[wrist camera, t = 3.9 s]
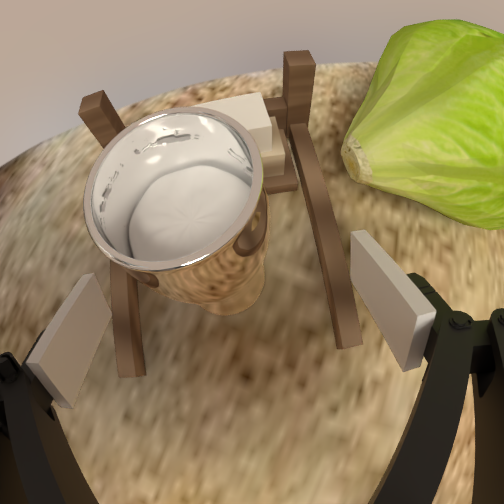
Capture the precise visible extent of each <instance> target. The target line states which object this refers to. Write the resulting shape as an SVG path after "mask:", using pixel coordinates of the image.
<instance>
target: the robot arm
mask: <svg viewBox="0 0 504 504" xmlns="http://www.w3.org/2000/svg"><path fill="white" fill-rule="evenodd" d="M350 280H351V282H352V283H353V285H354V287H355V288H356V290H357V292H358V293H359V295H360V297H361V298H362V300H363V302H364V303H365V305H366V307H367V308H368V310H369V312H370V314H371V315H372V317H373V319H374V320H375V322H376V324H377V326H378V327H379V329H380V331H381V333H382V335H383V336H384V338H385V340H386V342H387V343H388V345H389V347H390V349H391V351H392V353H393V354H394V356H395V358H396V360H397V362H398V364H399V366H400V367H401V369H402V371H403V372H405V371H408V370H411V369H414V368H417V367H420V365H421V362H422V359H423V356H424V357H425V359H426V360H427V362H428V365H427V368H426V371H425V374H424V376H423V379H422V384H421V387H420V390H419V393H418V396H417V398H416V401H415V404H414V407H413V409H412V412H411V415H410V417H409V420H408V422H407V425H406V427H405V430H404V432H403V435H402V437H401V439H400V441H399V444H398V446H397V448H396V450H395V453H394V455H393V457H392V459H391V461H390V463H389V465H388V467H387V469H386V471H385V473H384V475H383V477H382V479H381V481H380V483H379V485H378V487H377V489H376V490H375V492H374V494H373V496H372V498H371V499H370V501H369V503H368V504H432V501H433V499H434V497H435V494H436V492H437V489H438V487H439V484H440V482H441V479H442V476H443V474H444V471H445V468H446V465H447V462H448V459H449V456H450V453H451V450H452V447H453V443H454V440H455V436H456V433H457V429H458V425H459V421H460V417H461V413H462V409H463V404H464V400H465V395H466V390H467V384H468V379H469V374H471V375H472V385H473V396H474V411H475V471H474V486H473V496H472V504H504V309H503V308H500V309H496V310H494V311H493V312H492V314H491V317H490V320H481V321H474V320H473V319H472V317H471V316H469V315H468V314H467V313H464V312H461V311H453V310H452V309H451V308H450V307H449V305H448V304H447V303H446V302H445V301H444V300H443V299H442V297H441V296H440V295H439V294H438V293H437V292H436V291H435V289H434V288H433V287H432V286H430V284H429V283H428V282H427V281H426V280H425V278H423V277H421V276H420V275H418V274H416V273H410V274H405V273H404V271H403V270H402V269H401V268H400V267H399V266H398V265H397V264H396V262H395V261H394V260H393V259H392V258H391V257H390V256H389V255H388V254H387V252H386V251H385V250H384V249H383V248H382V247H381V246H380V245H379V244H378V243H377V242H376V241H375V240H374V238H373V237H372V236H371V235H370V234H369V233H368V232H367V231H366V230H365V229H364V230H358V231H351V265H350ZM112 315H113V314H112V312H111V310H110V308H109V306H108V303H107V301H106V299H105V297H104V295H103V292H102V290H101V288H100V285H99V283H98V281H97V278H96V276H95V273H89V274H83V275H82V276H81V278H80V279H79V281H78V282H77V283H76V285H75V286H74V288H73V289H72V290H71V292H70V293H69V295H68V296H67V298H66V299H65V301H64V302H63V304H62V305H61V307H60V308H59V310H58V311H57V313H56V314H55V316H54V317H53V319H52V320H51V322H50V323H49V325H48V326H47V328H46V329H45V330H43V331H42V332H41V333H40V335H39V337H38V338H37V340H36V342H35V343H34V345H33V346H32V348H31V350H30V351H29V353H28V355H27V356H26V358H25V360H24V362H23V363H22V365H21V366H20V365H19V363H18V362H17V360H16V359H15V358H14V356H13V355H12V353H10V352H5V353H3V354H1V355H0V504H99V503H98V501H97V500H96V498H95V496H94V494H93V493H92V491H91V489H90V487H89V485H88V484H87V482H86V480H85V478H84V476H83V474H82V472H81V470H80V468H79V466H78V464H77V462H76V460H75V457H74V455H73V453H72V451H71V449H70V446H69V444H68V442H67V439H66V437H65V435H64V432H63V430H62V427H61V425H60V422H59V419H58V417H57V414H56V411H55V409H54V408H53V406H52V405H51V403H52V400H53V399H54V400H55V401H56V403H57V404H58V405H59V406H60V407H63V408H73V409H74V406H75V403H76V400H77V398H78V395H79V392H80V390H81V387H82V385H83V382H84V380H85V377H86V375H87V372H88V370H89V367H90V365H91V362H92V360H93V358H94V355H95V353H96V350H97V348H98V346H99V344H100V341H101V339H102V337H103V334H104V332H105V330H106V328H107V326H108V323H109V321H110V319H111V317H112Z"/></svg>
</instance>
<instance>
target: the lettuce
mask: <svg viewBox="0 0 504 504" xmlns="http://www.w3.org/2000/svg"><path fill="white" fill-rule="evenodd" d="M341 156H342V159H343V161H344V164H345V167H346V169H347V172H348V174H349V176H350V178H351V179H353V180H354V181H356V182H357V183H361V184H365V185H368V186H371V187H373V188H376V189H379V190H381V191H384V192H387V193H391V194H396V195H400V196H403V197H406V198H409V199H412V200H415V201H417V202H419V203H421V204H424V205H426V206H428V207H430V208H432V209H434V210H435V211H437V212H439V213H441V214H443V215H445V216H446V217H449V218H451V219H453V220H455V221H457V222H460V223H462V224H464V225H468V226H473V227H478V228H482V229H487V230H499V229H504V34H502V33H499V32H496V31H494V30H491V29H488V28H486V27H483V26H480V25H477V24H473V23H470V22H466V21H463V20H434V21H428V22H423V23H418V24H413V25H409V26H404V27H403V28H401V29H400V30H399V31H397V32H396V33H395V34H393V35H392V36H391V38H390V40H389V42H388V44H387V46H386V48H385V50H384V52H383V54H382V56H381V58H380V60H379V63H378V65H377V68H376V71H375V74H374V76H373V79H372V82H371V84H370V87H369V90H368V92H367V95H366V97H365V99H364V101H363V103H362V105H361V106H360V108H359V110H358V112H357V113H356V115H355V117H354V119H353V121H352V123H351V125H350V127H349V129H348V131H347V134H346V136H345V138H344V141H343V145H342V148H341Z"/></svg>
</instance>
